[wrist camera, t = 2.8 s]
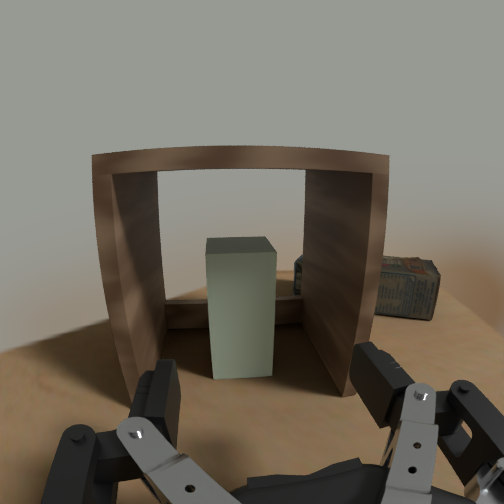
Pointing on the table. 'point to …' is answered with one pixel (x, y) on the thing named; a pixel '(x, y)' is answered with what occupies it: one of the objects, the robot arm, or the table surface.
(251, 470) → the table surface
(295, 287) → the beverage carton
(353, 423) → the table surface
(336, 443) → the table surface
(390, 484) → the robot arm
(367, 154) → the walnut box
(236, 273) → the sage block
